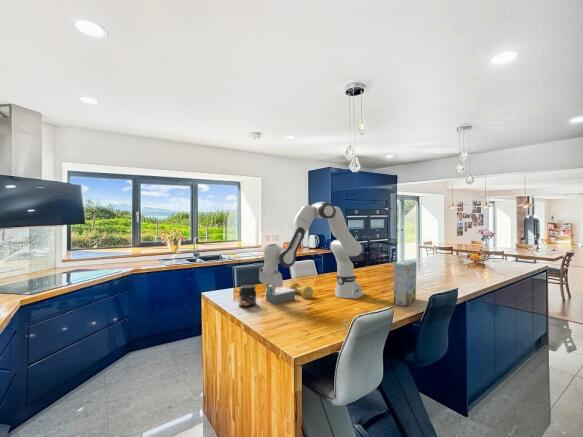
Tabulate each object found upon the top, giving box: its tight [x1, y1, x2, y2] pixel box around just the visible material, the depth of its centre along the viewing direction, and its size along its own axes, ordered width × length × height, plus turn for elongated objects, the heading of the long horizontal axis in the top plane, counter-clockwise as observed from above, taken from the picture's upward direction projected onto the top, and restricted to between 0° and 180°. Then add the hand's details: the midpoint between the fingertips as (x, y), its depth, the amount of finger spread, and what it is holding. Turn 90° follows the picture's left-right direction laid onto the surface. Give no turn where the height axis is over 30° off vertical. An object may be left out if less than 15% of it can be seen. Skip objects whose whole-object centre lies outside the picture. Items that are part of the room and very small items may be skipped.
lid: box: [265, 286, 295, 295], centre depth 187 cm, size 18×10×4 cm, turn 131°
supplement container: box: [238, 284, 257, 309], centre depth 177 cm, size 10×10×12 cm
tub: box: [265, 291, 296, 305], centre depth 188 cm, size 16×10×6 cm, turn 131°
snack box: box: [393, 259, 417, 307], centre depth 185 cm, size 22×9×26 cm, turn 143°
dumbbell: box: [288, 281, 314, 299], centre depth 200 cm, size 19×9×8 cm, turn 35°
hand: (270, 291), depth 182 cm, fingers open, 4 cm apart
